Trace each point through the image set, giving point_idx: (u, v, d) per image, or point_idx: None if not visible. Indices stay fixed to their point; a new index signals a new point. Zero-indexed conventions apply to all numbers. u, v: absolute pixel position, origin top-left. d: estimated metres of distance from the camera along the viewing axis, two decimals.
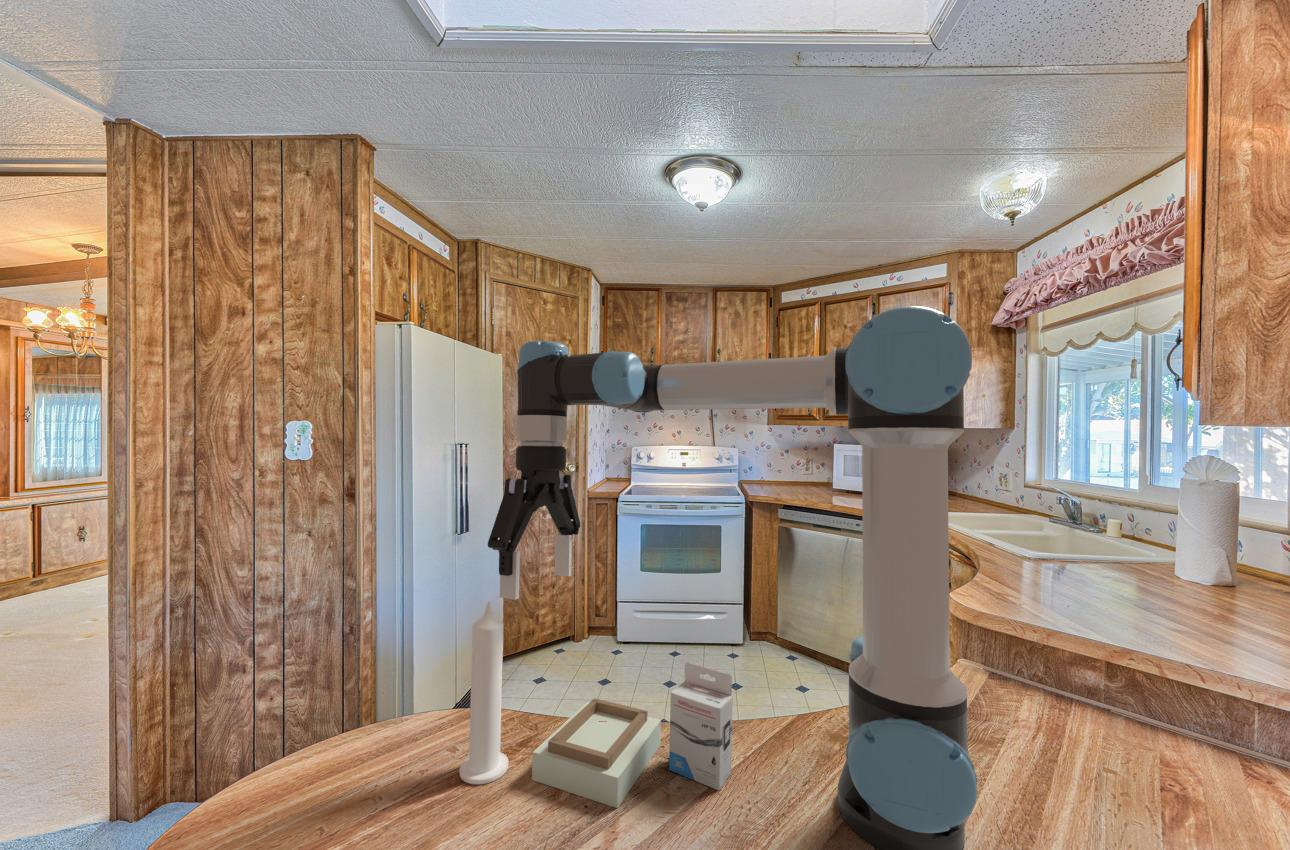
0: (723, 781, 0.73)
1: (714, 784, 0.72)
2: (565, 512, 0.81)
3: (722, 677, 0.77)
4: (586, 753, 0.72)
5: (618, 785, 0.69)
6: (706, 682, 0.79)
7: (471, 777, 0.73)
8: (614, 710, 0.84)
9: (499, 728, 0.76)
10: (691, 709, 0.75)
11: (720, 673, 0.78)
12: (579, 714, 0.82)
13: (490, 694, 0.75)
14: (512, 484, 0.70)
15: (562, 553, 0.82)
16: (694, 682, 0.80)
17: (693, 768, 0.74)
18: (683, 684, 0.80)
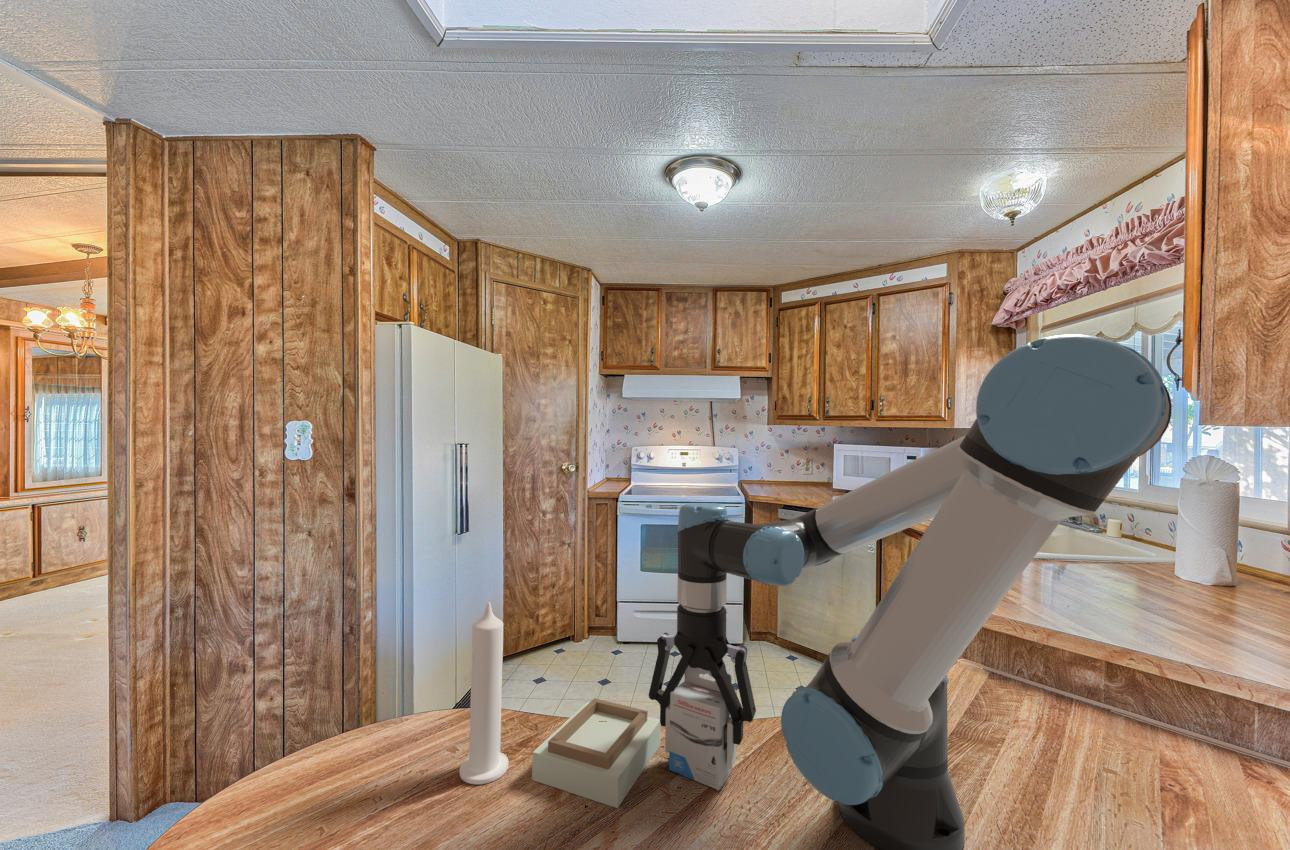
0: (723, 781, 0.73)
1: (714, 784, 0.73)
2: (725, 691, 0.74)
3: None
4: (586, 753, 0.72)
5: (618, 785, 0.69)
6: (706, 682, 0.79)
7: (471, 777, 0.73)
8: (614, 710, 0.84)
9: (499, 728, 0.76)
10: (691, 708, 0.75)
11: None
12: (579, 714, 0.82)
13: (490, 694, 0.75)
14: None
15: None
16: (694, 682, 0.80)
17: (693, 768, 0.74)
18: (683, 684, 0.80)
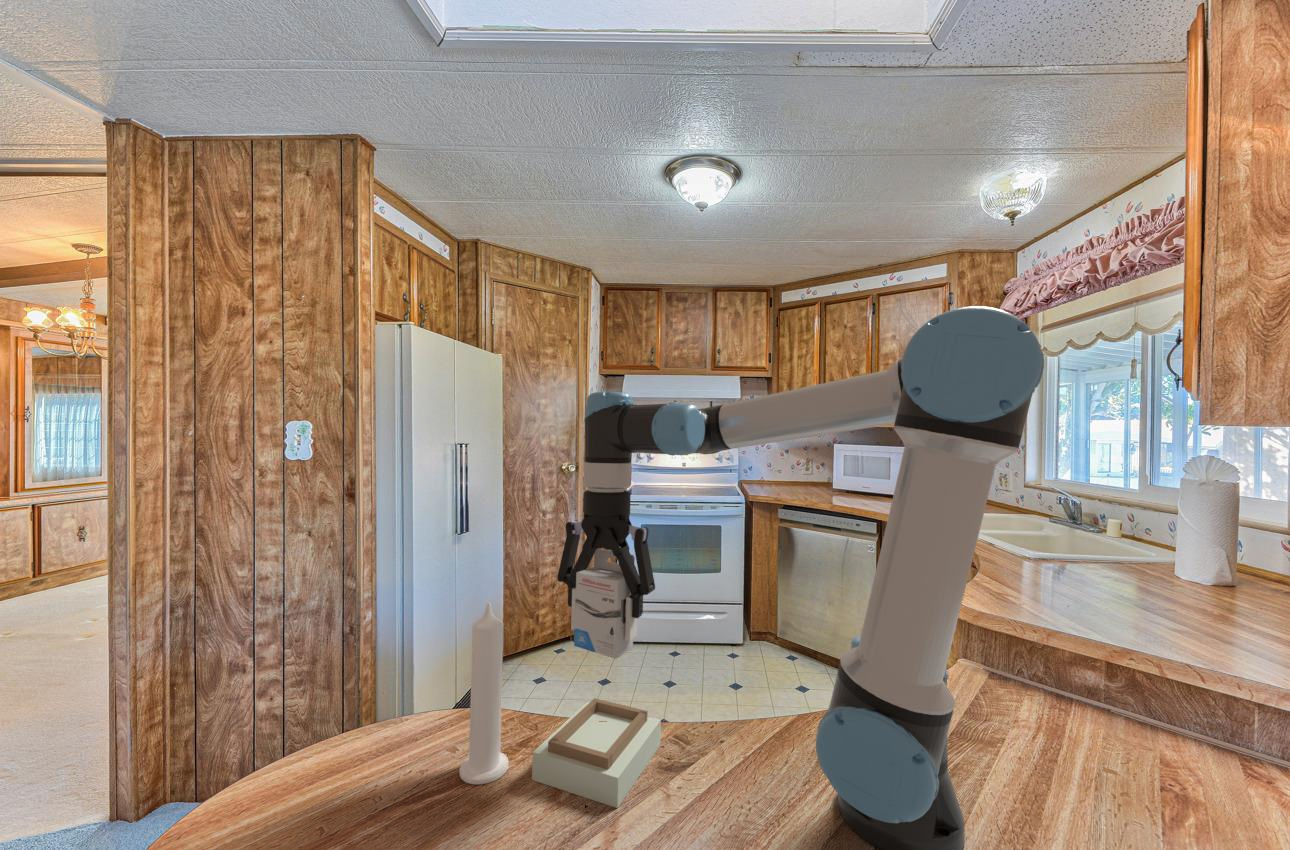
0: (622, 652, 0.77)
1: (612, 653, 0.76)
2: (625, 567, 0.77)
3: None
4: (586, 753, 0.72)
5: (618, 785, 0.69)
6: (613, 565, 0.82)
7: (471, 777, 0.73)
8: (614, 710, 0.84)
9: (499, 728, 0.76)
10: (594, 585, 0.78)
11: None
12: (579, 714, 0.82)
13: (490, 694, 0.75)
14: None
15: None
16: (602, 566, 0.83)
17: (594, 640, 0.78)
18: (591, 568, 0.83)
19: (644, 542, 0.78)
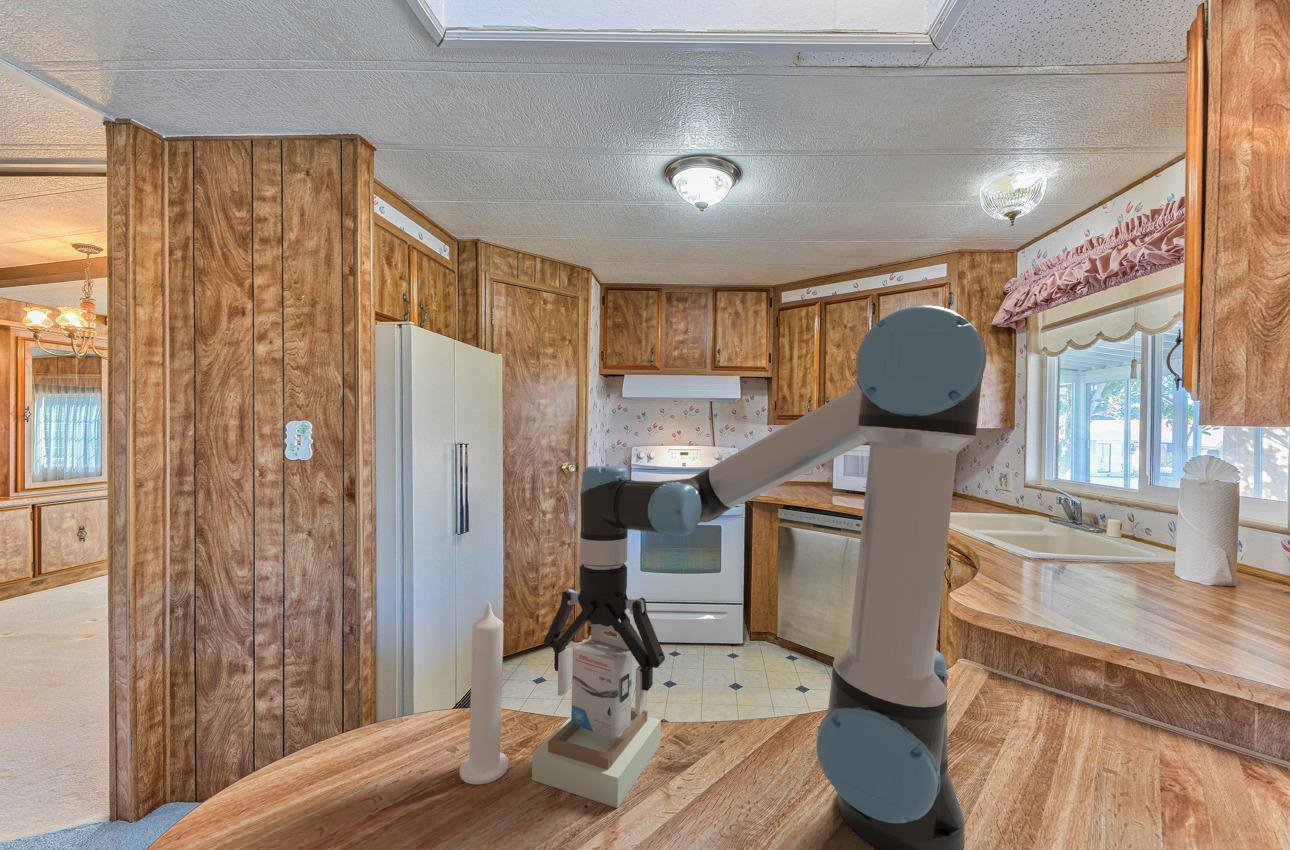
0: (619, 732, 0.76)
1: (609, 734, 0.75)
2: (629, 641, 0.76)
3: None
4: (586, 753, 0.72)
5: (618, 785, 0.69)
6: (610, 639, 0.81)
7: (471, 777, 0.73)
8: None
9: (499, 728, 0.76)
10: (590, 663, 0.77)
11: None
12: None
13: (490, 694, 0.75)
14: None
15: None
16: (599, 639, 0.82)
17: (591, 719, 0.77)
18: (588, 641, 0.82)
19: (644, 613, 0.77)
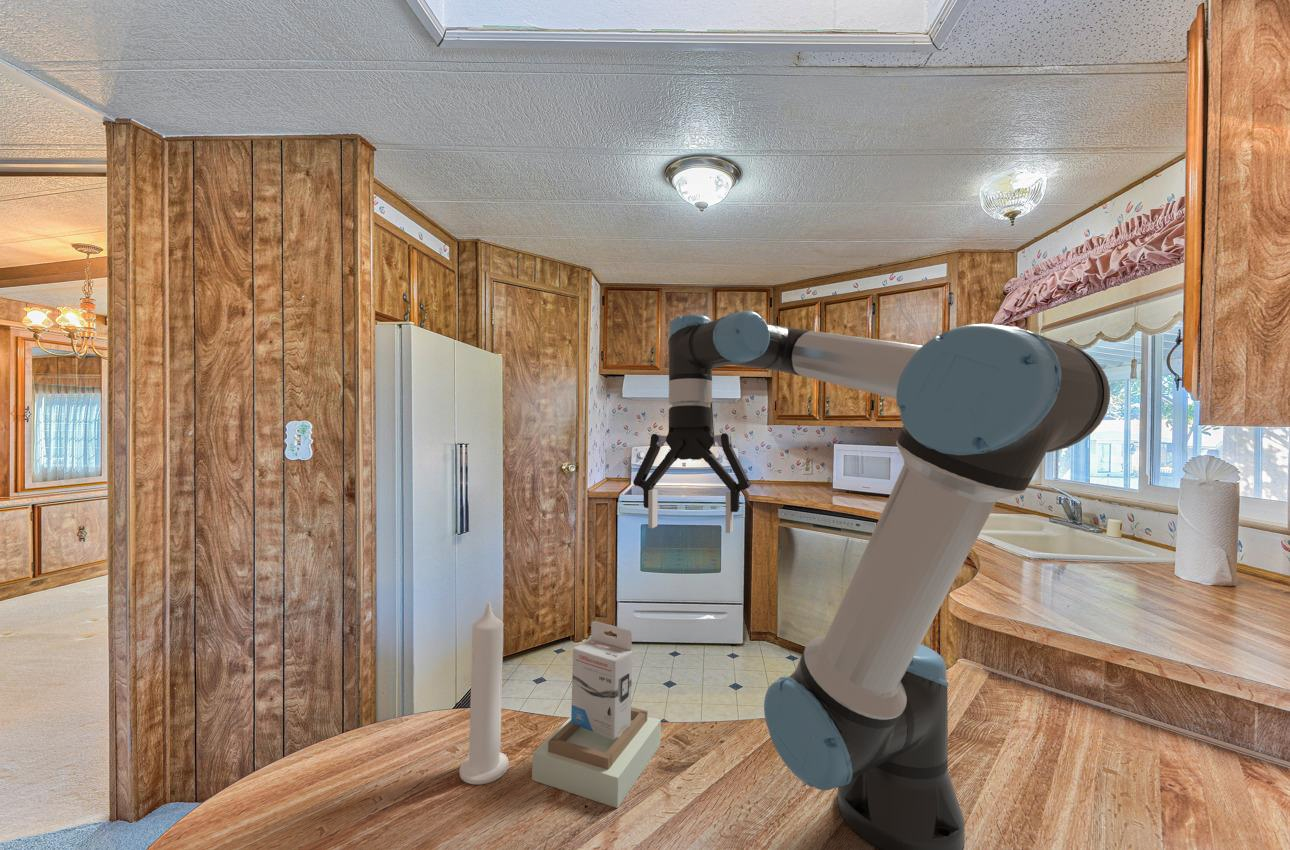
0: (619, 732, 0.76)
1: (609, 734, 0.75)
2: (719, 469, 0.84)
3: (623, 633, 0.80)
4: (586, 753, 0.72)
5: (618, 785, 0.69)
6: (610, 639, 0.81)
7: (471, 777, 0.73)
8: None
9: (499, 728, 0.76)
10: (590, 663, 0.77)
11: (621, 629, 0.80)
12: None
13: (490, 694, 0.75)
14: None
15: None
16: (599, 639, 0.82)
17: (591, 719, 0.77)
18: (588, 641, 0.82)
19: (730, 446, 0.85)
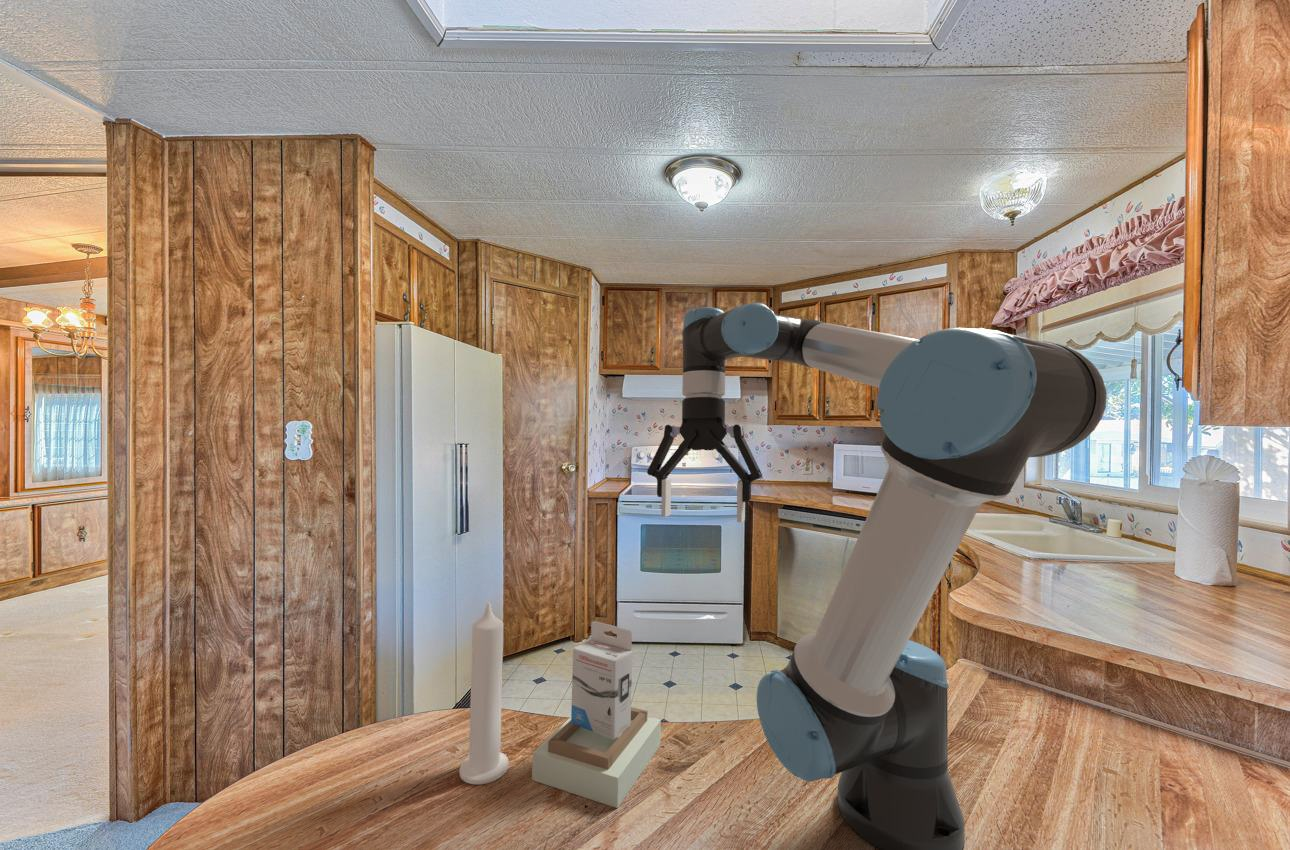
0: (619, 732, 0.76)
1: (609, 734, 0.75)
2: (731, 459, 0.85)
3: (623, 633, 0.80)
4: (586, 753, 0.72)
5: (618, 785, 0.69)
6: (610, 639, 0.81)
7: (471, 777, 0.73)
8: None
9: (499, 728, 0.76)
10: (590, 663, 0.77)
11: (621, 629, 0.80)
12: None
13: (490, 694, 0.75)
14: None
15: None
16: (599, 639, 0.82)
17: (591, 719, 0.77)
18: (588, 641, 0.82)
19: (742, 437, 0.86)
